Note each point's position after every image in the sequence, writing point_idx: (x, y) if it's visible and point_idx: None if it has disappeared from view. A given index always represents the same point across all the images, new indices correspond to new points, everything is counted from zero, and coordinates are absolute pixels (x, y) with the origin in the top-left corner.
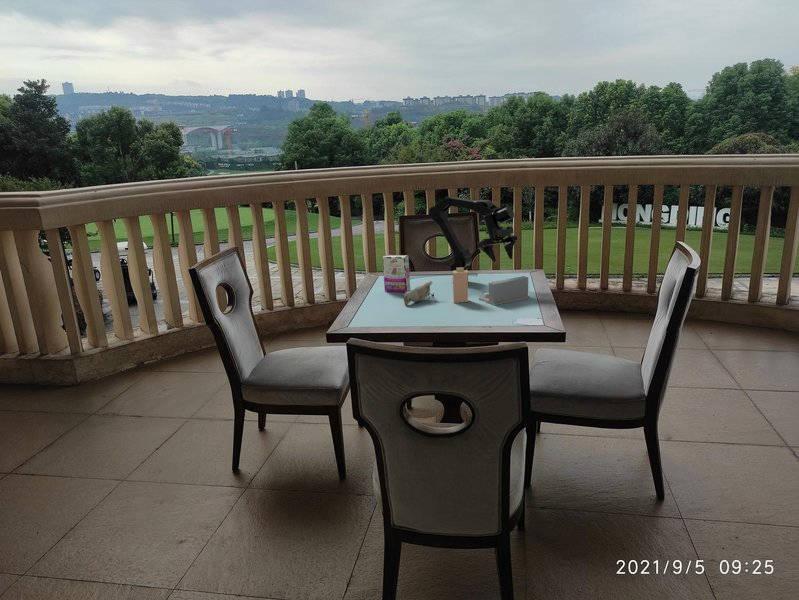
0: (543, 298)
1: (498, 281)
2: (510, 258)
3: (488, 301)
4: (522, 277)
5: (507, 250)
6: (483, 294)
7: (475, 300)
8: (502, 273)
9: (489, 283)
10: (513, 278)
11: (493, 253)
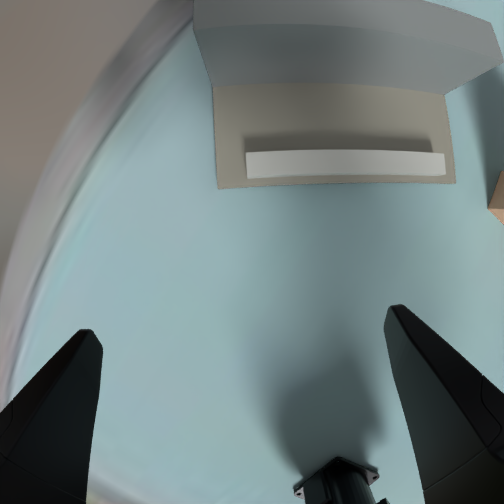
0: (158, 19)
1: (449, 35)
2: (97, 349)
3: (444, 98)
4: (232, 3)
5: (68, 472)
6: (443, 172)
7: (467, 179)
8: (98, 484)
9: (500, 56)
10: (315, 16)
11: (457, 389)
